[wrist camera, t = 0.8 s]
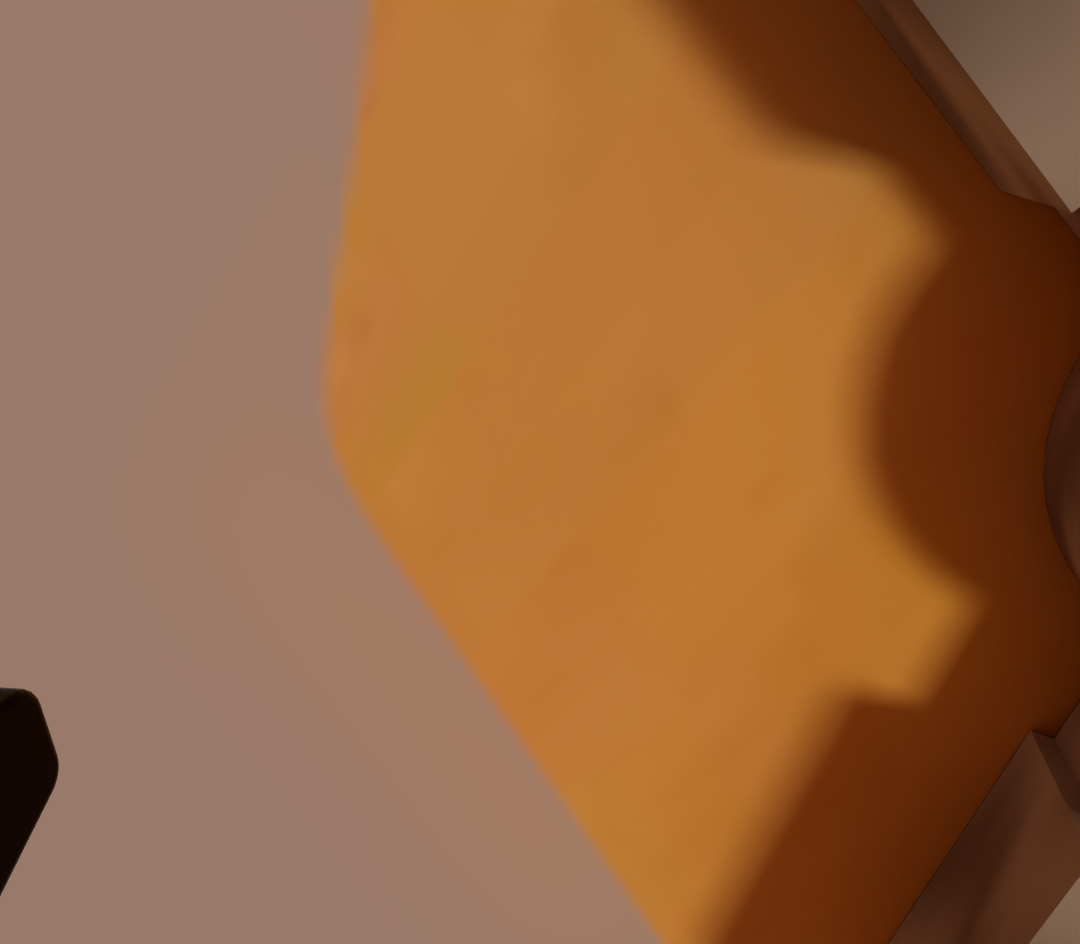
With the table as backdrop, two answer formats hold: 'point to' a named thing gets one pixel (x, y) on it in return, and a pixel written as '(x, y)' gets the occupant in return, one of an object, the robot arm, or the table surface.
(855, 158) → the table surface
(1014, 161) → the wooden three-arm spinner
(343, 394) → the table surface
